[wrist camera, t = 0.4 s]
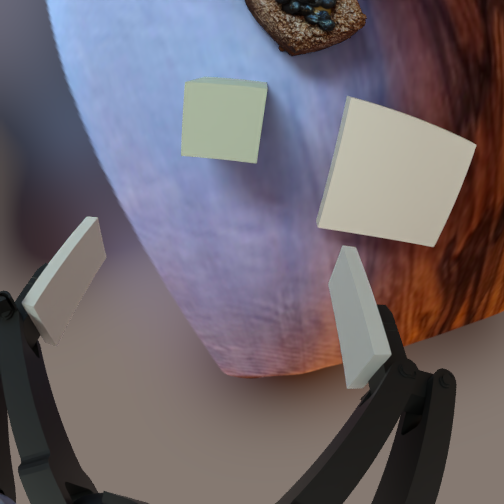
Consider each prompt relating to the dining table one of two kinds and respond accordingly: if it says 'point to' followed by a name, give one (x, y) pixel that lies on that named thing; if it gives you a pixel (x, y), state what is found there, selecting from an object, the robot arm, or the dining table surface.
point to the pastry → (307, 22)
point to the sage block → (223, 118)
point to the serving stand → (392, 175)
